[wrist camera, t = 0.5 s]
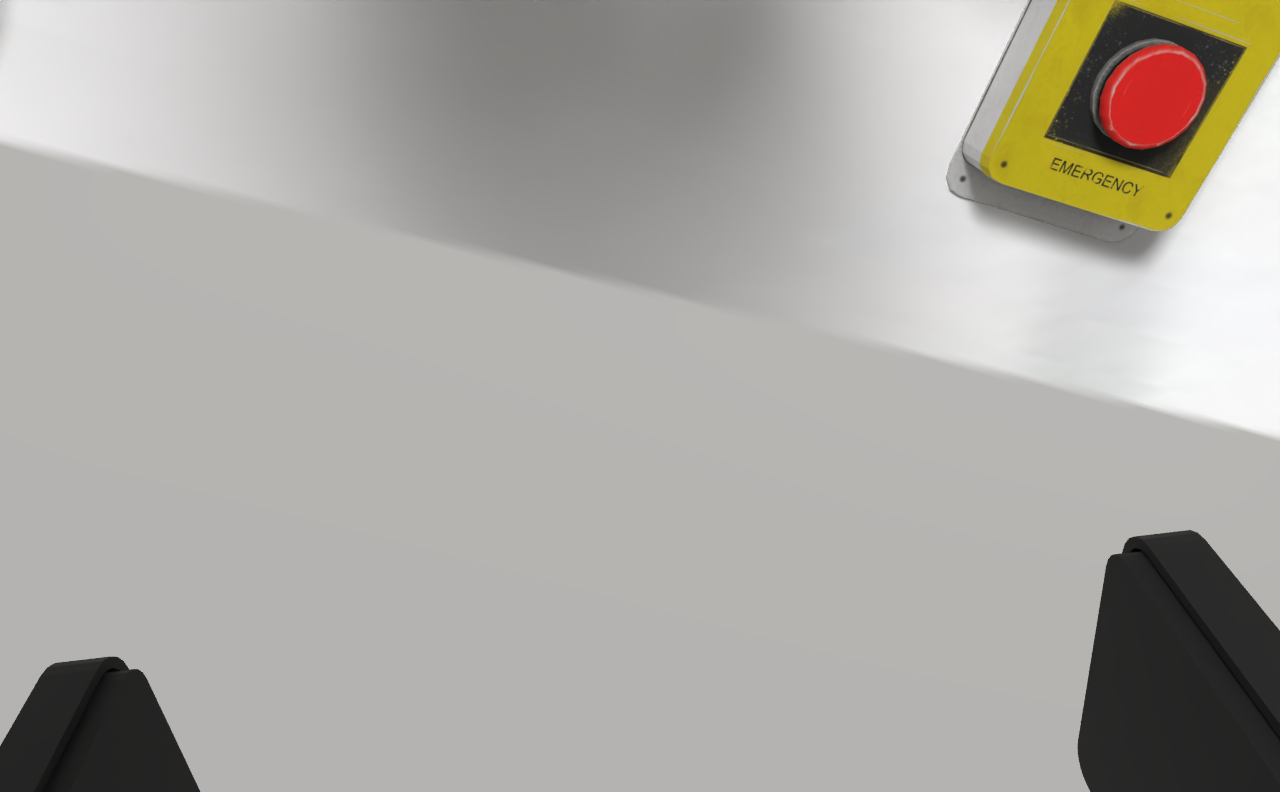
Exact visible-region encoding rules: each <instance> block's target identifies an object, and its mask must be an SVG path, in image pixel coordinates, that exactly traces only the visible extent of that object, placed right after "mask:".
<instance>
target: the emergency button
mask: <svg viewBox="0 0 1280 792" xmlns="http://www.w3.org/2000/svg"><path fill="white" fill-rule="evenodd" d="M1279 57H1280V0H1028V2H1027V4H1026V6H1025V8H1024V10H1023V12H1022V14H1021V16H1020V18H1019V20H1018V22H1017V25H1016V27H1015V29H1014V31H1013V33H1012V35H1011V37H1010V39H1009V41H1008V43H1007V45H1006V47H1005V50H1004V52H1003V54H1002V56H1001V58H1000V60H999V62H998V64H997V66H996V68H995V70H994V72H993V74H992V77H991V79H990V81H989V83H988V85H987V87H986V89H985V91H984V93H983V95H982V97H981V99H980V102H979V104H978V106H977V108H976V110H975V112H974V114H973V116H972V118H971V120H970V122H969V124H968V126H967V129H966V131H965V133H964V135H963V137H962V139H961V141H960V143H959V145H958V147H957V149H956V151H955V154H954V156H953V158H952V160H951V162H950V164H949V168H948V172H947V176H946V178H947V182H948V186H949V189H950V190H952V191H953V192H954V193H956V194H957V195H958V196H961V197H964V198H968V199H971V200H974V201H977V202H980V203H984V204H987V205H990V206H993V207H997V208H1000V209H1003V210H1006V211H1010V212H1013V213H1016V214H1019V215H1023V216H1026V217H1029V218H1032V219H1035V220H1039V221H1042V222H1045V223H1048V224H1052V225H1055V226H1058V227H1061V228H1065V229H1068V230H1071V231H1074V232H1078V233H1081V234H1084V235H1087V236H1090V237H1094V238H1097V239H1100V240H1103V241H1107V242H1120V241H1122V240H1124V239H1126V238H1128V237H1130V236H1131V235H1132V234H1133V233H1134V232H1135V231H1136V230H1137V228H1138V227H1140V228H1144V229H1147V230H1150V231H1164V230H1167V229H1169V228H1172V227H1173V226H1174V225H1175V224H1176V223H1177V222H1178V221H1179V220H1180V219H1181V218H1182V216H1183V215H1184V213H1185V211H1186V210H1187V208H1188V206H1189V205H1190V203H1191V201H1192V200H1193V198H1194V196H1195V195H1196V193H1197V192H1198V190H1199V188H1200V187H1201V185H1202V183H1203V182H1204V180H1205V178H1206V177H1207V175H1208V174H1209V172H1210V170H1211V169H1212V167H1213V165H1214V164H1215V162H1216V160H1217V159H1218V157H1219V155H1220V154H1221V152H1222V151H1223V149H1224V147H1225V146H1226V144H1227V142H1228V141H1229V139H1230V137H1231V136H1232V134H1233V132H1234V131H1235V129H1236V128H1237V126H1238V124H1239V123H1240V121H1241V119H1242V118H1243V116H1244V114H1245V113H1246V111H1247V109H1248V108H1249V106H1250V105H1251V103H1252V101H1253V100H1254V98H1255V96H1256V95H1257V93H1258V91H1259V90H1260V88H1261V86H1262V85H1263V83H1264V82H1265V80H1266V78H1267V77H1268V75H1269V73H1270V72H1271V70H1272V68H1273V67H1274V65H1275V63H1276V62H1277V60H1278V59H1279Z"/></svg>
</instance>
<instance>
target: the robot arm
mask: <svg viewBox="0 0 1280 792" xmlns="http://www.w3.org/2000/svg"><path fill="white" fill-rule="evenodd" d="M1078 757H1079V762H1080V767H1081V770H1082V773H1083V777H1084V779H1085V781H1086V783H1087V786H1088V788H1089V789H1090V792H1280V631H1279V629H1278V628H1277V627H1276V626H1275V625H1274V623H1273V622H1272V621H1271V620H1270V618H1269V617H1268V616H1267V615H1266V613H1264V611H1263V610H1262V609H1261V607H1260V606H1259V605H1258V604H1257V602H1256V601H1255V600H1254V599H1253V598H1252V596H1251V595H1250V594H1249V593H1248V591H1247V590H1246V589H1245V588H1244V587H1243V586H1242V584H1241V583H1240V582H1239V581H1238V579H1237V578H1236V577H1235V576H1234V574H1233V573H1232V572H1231V571H1230V570H1229V568H1228V567H1227V566H1226V565H1225V563H1224V562H1223V561H1222V560H1221V559H1220V557H1219V556H1218V555H1217V554H1216V552H1215V551H1214V550H1213V549H1212V548H1211V546H1210V545H1209V544H1208V543H1207V541H1206V540H1205V539H1204V538H1202V537H1201V535H1199V534H1198V533H1197V532H1194V531H1191V530H1188V531H1179V532H1170V533H1162V534H1153V535H1146V536H1136V537H1132V538H1129V540H1128V541H1127V542H1126V543H1125V546H1124V549H1123V552H1122V554H1115V555H1112V556H1111V557H1110V558H1109V559H1108V562H1107V565H1106V571H1105V578H1104V584H1103V590H1102V596H1101V602H1100V608H1099V614H1098V621H1097V627H1096V634H1095V639H1094V645H1093V652H1092V658H1091V664H1090V670H1089V677H1088V683H1087V689H1086V695H1085V701H1084V708H1083V714H1082V720H1081V726H1080V732H1079V739H1078ZM0 792H200V790H199V788H198V786H197V784H196V782H195V780H194V778H193V775H192V773H191V771H190V769H189V767H188V765H187V763H186V761H185V758H184V756H183V754H182V752H181V750H180V748H179V746H178V744H177V742H176V740H175V737H174V735H173V733H172V731H171V729H170V727H169V725H168V723H167V721H166V718H165V716H164V714H163V712H162V710H161V708H160V706H159V704H158V702H157V699H156V697H155V695H154V693H153V691H152V689H151V687H150V685H149V683H148V680H147V678H146V677H145V675H144V674H143V672H141V671H140V670H138V669H134V670H133V669H132V670H129V669H128V667H127V666H126V664H125V663H124V661H123V660H121V659H119V658H118V657H104V658H95V659H87V660H78V661H69V662H61V663H55V664H53V665H51V666H49V667H48V668H47V669H46V670H45V671H44V673H43V674H42V675H41V676H40V678H39V680H38V682H37V683H36V685H35V687H34V689H33V691H32V692H31V694H30V696H29V697H28V699H27V701H26V702H25V704H24V706H23V708H22V709H21V711H20V713H19V715H18V716H17V718H16V720H15V722H14V724H13V725H12V727H11V729H10V730H9V732H8V734H7V735H6V737H5V739H4V741H3V742H2V744H1V746H0Z"/></svg>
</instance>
